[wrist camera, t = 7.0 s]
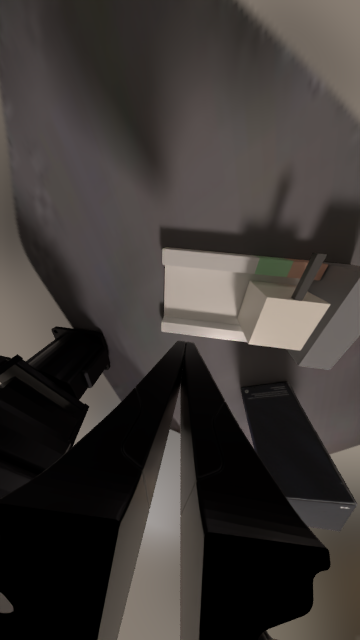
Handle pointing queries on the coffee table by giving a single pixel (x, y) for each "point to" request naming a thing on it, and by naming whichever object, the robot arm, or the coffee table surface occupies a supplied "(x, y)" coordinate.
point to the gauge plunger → (282, 310)
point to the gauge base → (229, 290)
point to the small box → (296, 456)
